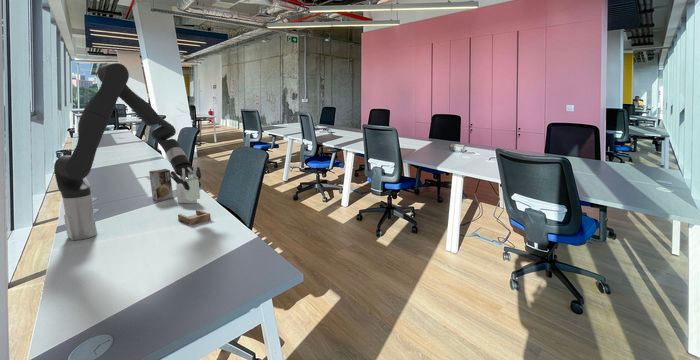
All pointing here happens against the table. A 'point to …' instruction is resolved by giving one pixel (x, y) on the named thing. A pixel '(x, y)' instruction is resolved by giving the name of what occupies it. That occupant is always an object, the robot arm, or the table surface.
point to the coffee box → (161, 184)
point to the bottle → (192, 188)
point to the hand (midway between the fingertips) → (194, 188)
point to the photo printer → (183, 195)
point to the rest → (194, 218)
